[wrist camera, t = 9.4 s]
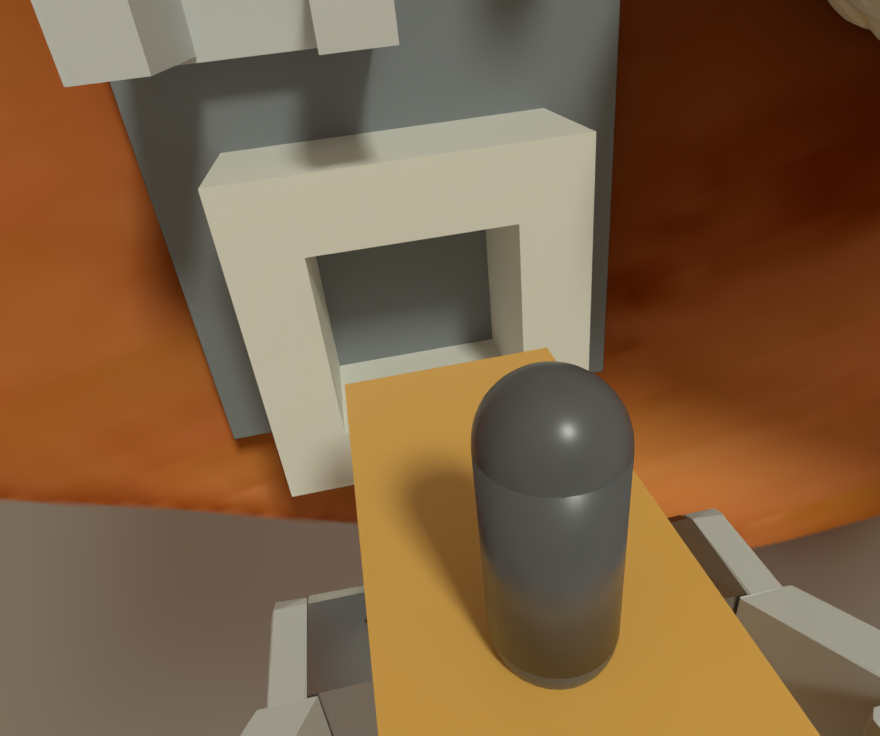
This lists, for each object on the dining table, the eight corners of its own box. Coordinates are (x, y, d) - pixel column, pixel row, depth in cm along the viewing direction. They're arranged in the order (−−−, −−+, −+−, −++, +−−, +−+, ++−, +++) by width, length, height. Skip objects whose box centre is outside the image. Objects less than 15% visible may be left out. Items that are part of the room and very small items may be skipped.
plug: (544, 171, 10) (1004, 487, 4) (548, 497, 14) (770, 949, 7) (306, 208, 10) (300, 646, 3) (377, 533, 14) (443, 1048, 7)
